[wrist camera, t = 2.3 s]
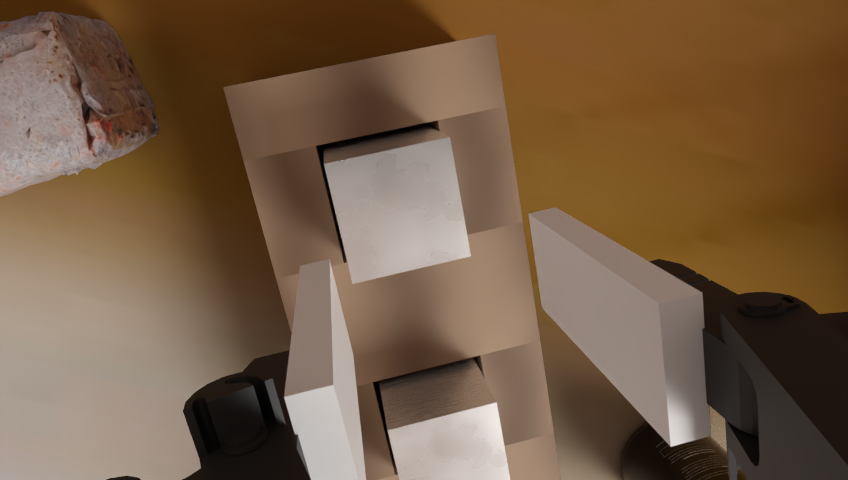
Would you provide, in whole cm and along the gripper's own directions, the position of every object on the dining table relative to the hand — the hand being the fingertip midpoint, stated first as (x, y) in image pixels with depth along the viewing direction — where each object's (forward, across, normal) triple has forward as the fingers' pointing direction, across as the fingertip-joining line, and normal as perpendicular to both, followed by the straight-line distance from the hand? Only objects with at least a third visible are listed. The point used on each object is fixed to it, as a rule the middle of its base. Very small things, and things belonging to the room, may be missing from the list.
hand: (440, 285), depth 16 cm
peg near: (+17, 0, 0) cm, 17 cm away
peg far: (+17, 0, +12) cm, 21 cm away
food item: (+21, +18, -7) cm, 29 cm away
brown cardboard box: (+21, 0, +6) cm, 22 cm away
